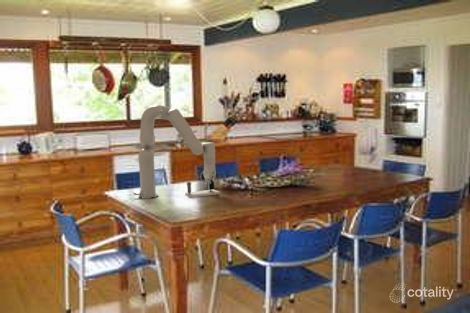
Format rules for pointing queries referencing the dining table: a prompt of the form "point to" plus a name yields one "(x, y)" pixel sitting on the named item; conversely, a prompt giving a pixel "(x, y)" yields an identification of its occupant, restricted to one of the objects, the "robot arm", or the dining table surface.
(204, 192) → the pitch plate
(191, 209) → the dining table surface
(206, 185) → the pneumatic valve
